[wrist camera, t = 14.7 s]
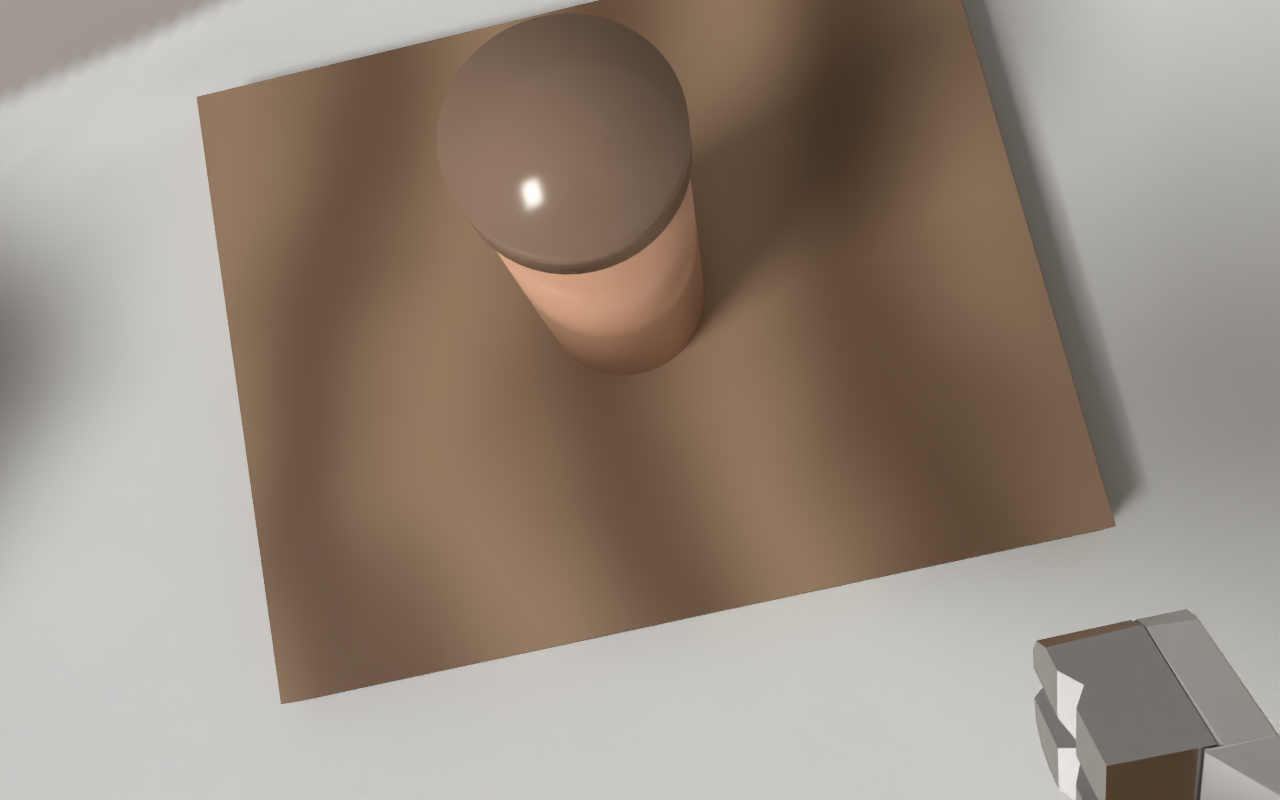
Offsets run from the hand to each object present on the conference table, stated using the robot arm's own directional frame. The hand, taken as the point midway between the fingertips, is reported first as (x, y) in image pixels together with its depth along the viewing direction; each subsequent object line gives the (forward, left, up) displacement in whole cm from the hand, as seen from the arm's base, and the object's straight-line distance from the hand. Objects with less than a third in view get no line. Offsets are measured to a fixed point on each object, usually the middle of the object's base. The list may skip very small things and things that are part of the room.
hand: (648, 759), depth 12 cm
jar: (0, -10, -15) cm, 18 cm away
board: (0, -10, -17) cm, 19 cm away
